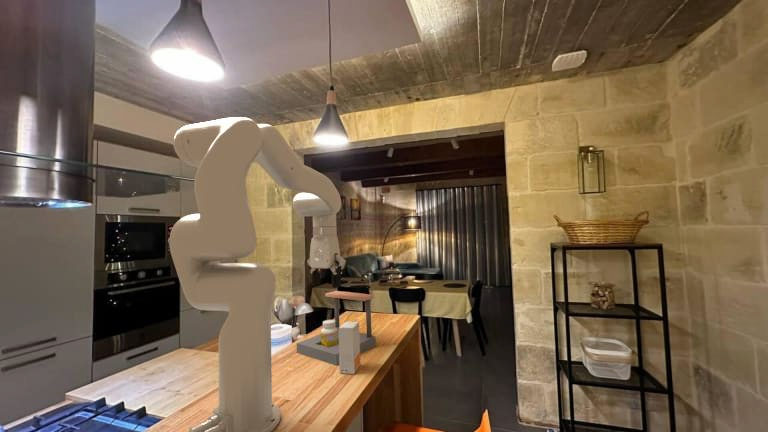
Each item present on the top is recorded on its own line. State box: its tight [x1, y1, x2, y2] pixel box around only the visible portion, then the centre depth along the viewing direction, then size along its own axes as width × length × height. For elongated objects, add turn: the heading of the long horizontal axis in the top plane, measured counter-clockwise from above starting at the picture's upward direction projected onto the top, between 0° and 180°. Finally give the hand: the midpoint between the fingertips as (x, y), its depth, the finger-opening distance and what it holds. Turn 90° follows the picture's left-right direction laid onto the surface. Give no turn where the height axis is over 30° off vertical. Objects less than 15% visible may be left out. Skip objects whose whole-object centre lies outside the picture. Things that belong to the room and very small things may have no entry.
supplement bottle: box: [320, 319, 338, 348], centre depth 95 cm, size 5×5×10 cm
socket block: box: [296, 290, 377, 366], centre depth 98 cm, size 18×18×16 cm
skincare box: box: [338, 321, 361, 375], centre depth 83 cm, size 6×4×12 cm
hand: (326, 286), depth 96 cm, fingers open, 9 cm apart
